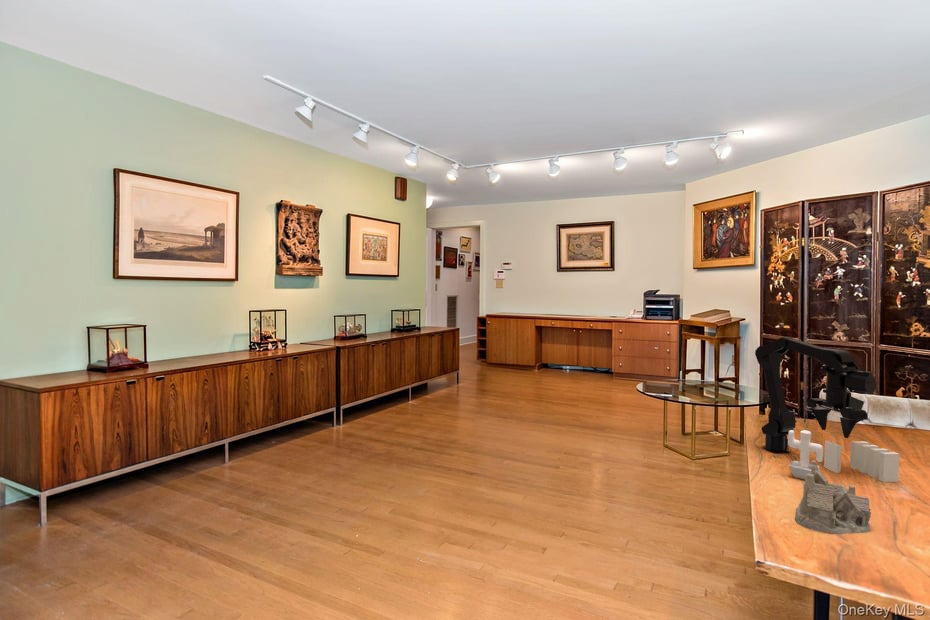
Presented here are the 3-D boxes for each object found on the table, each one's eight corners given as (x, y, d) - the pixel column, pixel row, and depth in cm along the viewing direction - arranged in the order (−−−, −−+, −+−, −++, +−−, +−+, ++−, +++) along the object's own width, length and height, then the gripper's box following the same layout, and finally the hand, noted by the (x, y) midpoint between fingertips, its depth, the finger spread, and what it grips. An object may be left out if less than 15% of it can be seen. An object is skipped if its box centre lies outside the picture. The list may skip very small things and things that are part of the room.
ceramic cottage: (787, 522, 129) (795, 465, 128) (802, 505, 141) (809, 453, 140) (863, 548, 118) (872, 487, 117) (873, 528, 130) (881, 472, 129)
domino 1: (840, 472, 165) (841, 445, 165) (835, 472, 165) (837, 445, 165) (828, 467, 170) (829, 441, 170) (823, 467, 170) (825, 441, 170)
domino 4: (872, 477, 161) (874, 450, 161) (868, 475, 163) (869, 448, 162) (887, 477, 162) (888, 450, 161) (883, 475, 163) (884, 448, 163)
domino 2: (853, 469, 169) (854, 443, 168) (849, 467, 170) (851, 441, 170) (867, 469, 169) (869, 442, 169) (863, 467, 171) (864, 441, 170)
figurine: (818, 484, 155) (821, 436, 154) (783, 475, 162) (785, 430, 161) (824, 478, 160) (826, 432, 159) (789, 470, 167) (791, 426, 166)
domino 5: (883, 482, 158) (884, 454, 157) (878, 480, 159) (880, 452, 159) (898, 481, 158) (899, 453, 157) (893, 480, 159) (894, 452, 159)
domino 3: (863, 473, 165) (864, 446, 165) (858, 471, 167) (860, 444, 166) (877, 473, 165) (878, 446, 165) (873, 471, 167) (874, 444, 166)
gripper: (884, 393, 158) (882, 442, 159) (836, 382, 177) (834, 426, 178) (851, 393, 157) (849, 442, 158) (806, 382, 176) (804, 426, 177)
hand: (834, 433), depth 168 cm, fingers open, 9 cm apart
